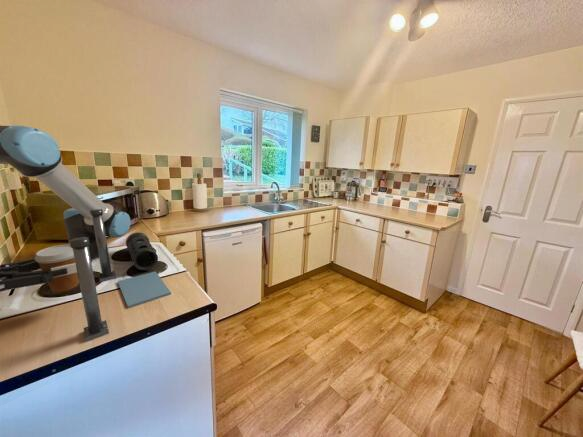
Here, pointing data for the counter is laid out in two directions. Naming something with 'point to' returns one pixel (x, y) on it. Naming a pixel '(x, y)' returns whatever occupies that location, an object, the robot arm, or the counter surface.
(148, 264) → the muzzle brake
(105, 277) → the post
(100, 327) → the post
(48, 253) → the disposable coffee cup
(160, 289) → the mat
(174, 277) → the counter surface
